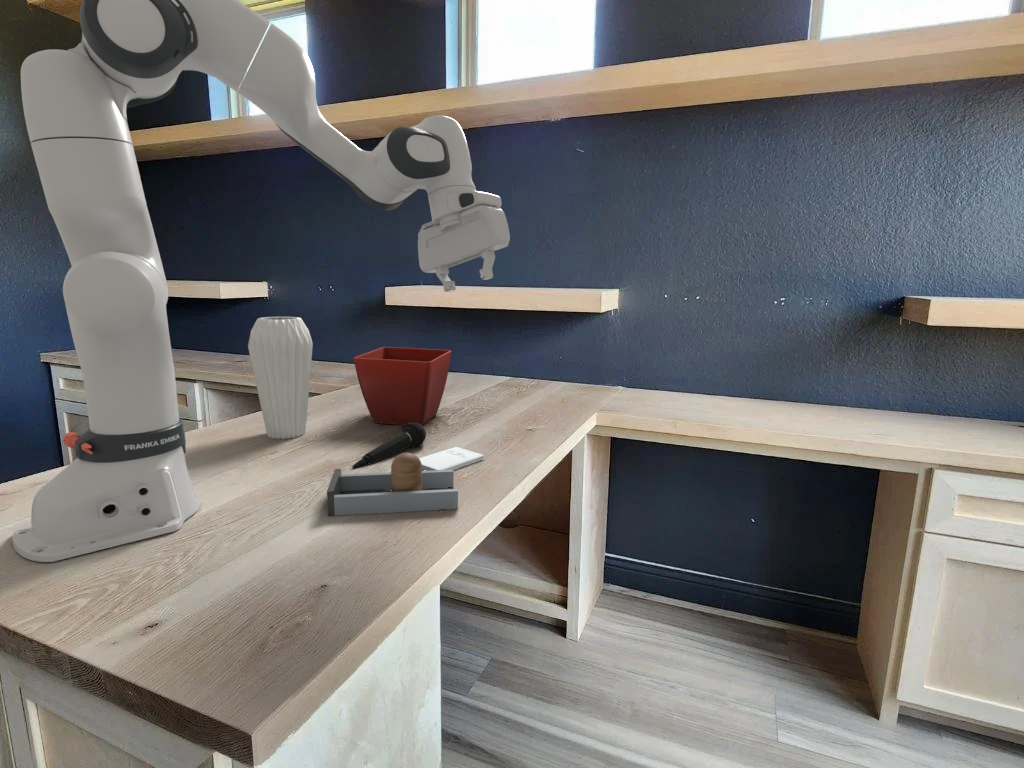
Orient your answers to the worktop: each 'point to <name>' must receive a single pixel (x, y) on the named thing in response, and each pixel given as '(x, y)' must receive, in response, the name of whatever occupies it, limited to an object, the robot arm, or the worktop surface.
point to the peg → (406, 473)
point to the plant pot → (402, 383)
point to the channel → (388, 493)
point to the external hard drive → (449, 459)
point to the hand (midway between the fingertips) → (468, 285)
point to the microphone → (395, 444)
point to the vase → (282, 373)
